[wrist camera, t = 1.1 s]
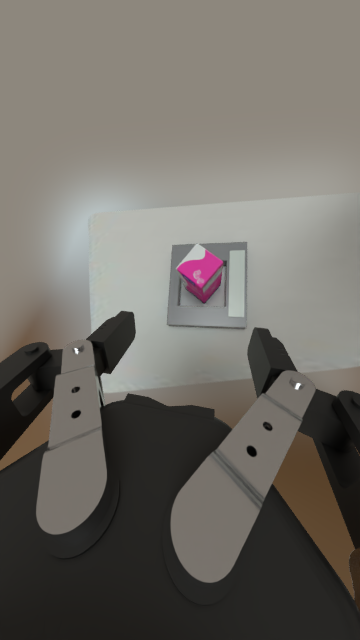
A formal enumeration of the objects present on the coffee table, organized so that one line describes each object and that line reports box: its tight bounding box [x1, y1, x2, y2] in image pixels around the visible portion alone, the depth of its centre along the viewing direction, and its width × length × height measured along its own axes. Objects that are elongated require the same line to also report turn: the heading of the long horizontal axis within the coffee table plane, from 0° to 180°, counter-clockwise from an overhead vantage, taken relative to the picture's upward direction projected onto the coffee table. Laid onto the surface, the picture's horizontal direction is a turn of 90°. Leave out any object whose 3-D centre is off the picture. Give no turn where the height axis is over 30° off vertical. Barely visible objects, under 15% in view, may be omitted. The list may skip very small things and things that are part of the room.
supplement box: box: [176, 243, 223, 303], centre depth 34 cm, size 6×6×12 cm
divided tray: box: [167, 242, 247, 329], centre depth 38 cm, size 16×18×3 cm
